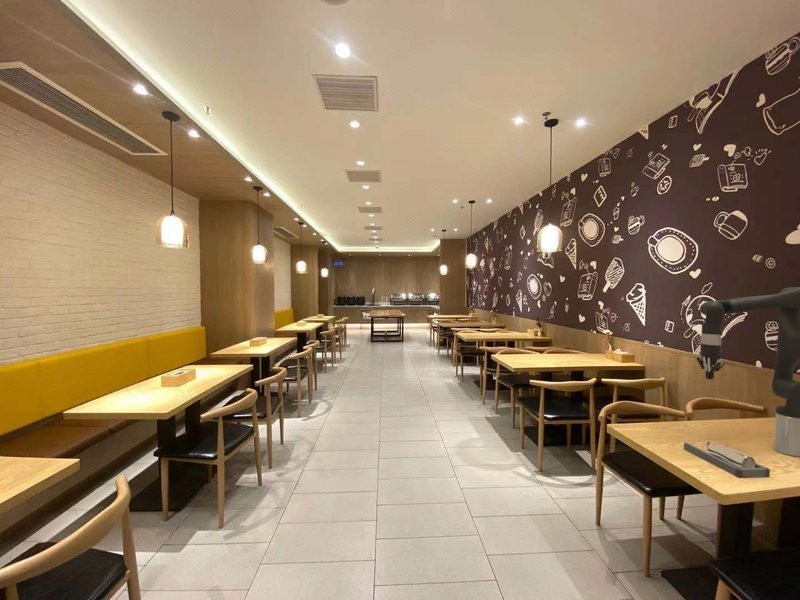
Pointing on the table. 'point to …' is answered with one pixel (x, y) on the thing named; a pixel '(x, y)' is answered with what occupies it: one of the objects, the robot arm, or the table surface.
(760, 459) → the table surface
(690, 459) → the table surface
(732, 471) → the u rest
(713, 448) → the beer glass
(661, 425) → the table surface
